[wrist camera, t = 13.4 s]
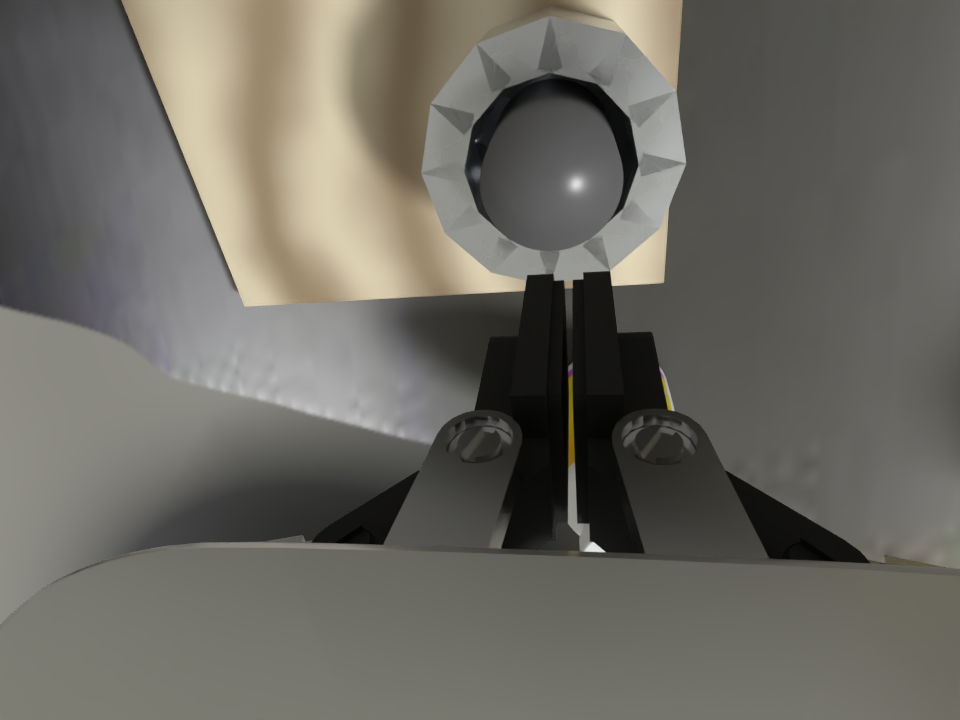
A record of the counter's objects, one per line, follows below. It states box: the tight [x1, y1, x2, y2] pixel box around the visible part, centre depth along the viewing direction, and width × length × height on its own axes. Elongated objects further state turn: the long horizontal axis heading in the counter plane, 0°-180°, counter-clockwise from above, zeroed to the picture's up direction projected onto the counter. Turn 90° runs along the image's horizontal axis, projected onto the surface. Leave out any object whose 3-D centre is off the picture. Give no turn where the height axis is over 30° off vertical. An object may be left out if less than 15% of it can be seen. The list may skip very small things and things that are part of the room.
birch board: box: [122, 0, 683, 306], centre depth 28 cm, size 24×16×1 cm, turn 97°
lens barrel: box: [421, 6, 686, 282], centre depth 25 cm, size 10×10×5 cm
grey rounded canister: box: [480, 79, 623, 251], centre depth 23 cm, size 5×5×6 cm
